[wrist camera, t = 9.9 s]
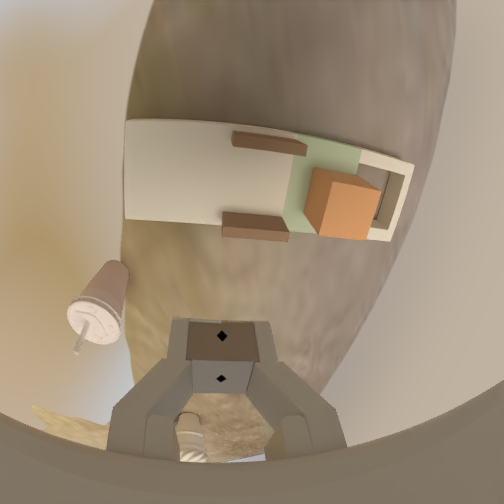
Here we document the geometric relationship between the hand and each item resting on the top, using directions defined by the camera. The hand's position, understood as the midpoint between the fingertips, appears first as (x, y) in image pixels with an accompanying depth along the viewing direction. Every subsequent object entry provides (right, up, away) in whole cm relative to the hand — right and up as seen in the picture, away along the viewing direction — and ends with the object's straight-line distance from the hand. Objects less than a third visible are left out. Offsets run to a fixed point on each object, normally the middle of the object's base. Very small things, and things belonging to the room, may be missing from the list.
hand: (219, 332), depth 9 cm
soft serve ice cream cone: (-13, -35, +45) cm, 59 cm away
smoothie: (-17, 0, +24) cm, 29 cm away
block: (+9, +9, +19) cm, 22 cm away
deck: (+3, +11, +20) cm, 23 cm away
